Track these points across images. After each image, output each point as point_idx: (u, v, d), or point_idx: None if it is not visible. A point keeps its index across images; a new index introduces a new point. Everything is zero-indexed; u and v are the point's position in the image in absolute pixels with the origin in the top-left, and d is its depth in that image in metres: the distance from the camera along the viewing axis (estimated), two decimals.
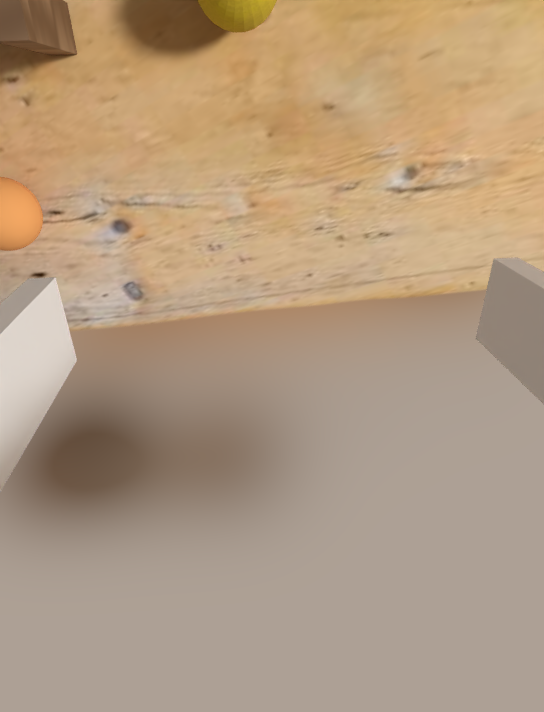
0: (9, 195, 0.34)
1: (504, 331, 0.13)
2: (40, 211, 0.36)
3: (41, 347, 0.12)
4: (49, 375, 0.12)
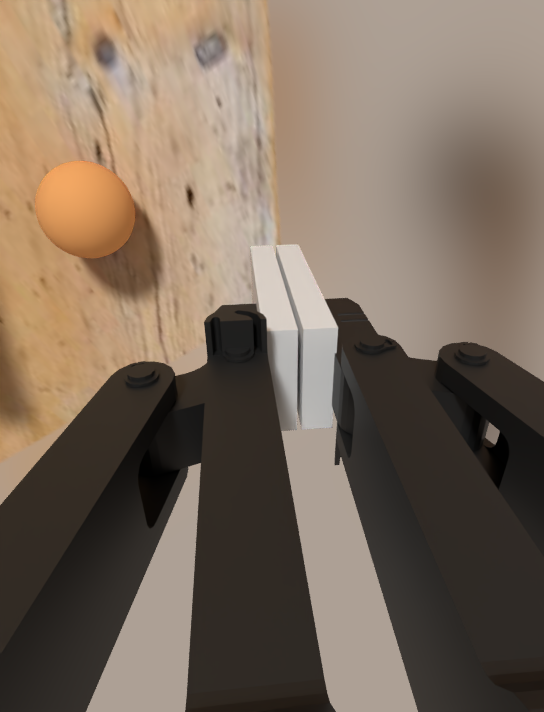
0: (43, 188, 0.25)
1: None
2: (77, 161, 0.26)
3: None
4: None
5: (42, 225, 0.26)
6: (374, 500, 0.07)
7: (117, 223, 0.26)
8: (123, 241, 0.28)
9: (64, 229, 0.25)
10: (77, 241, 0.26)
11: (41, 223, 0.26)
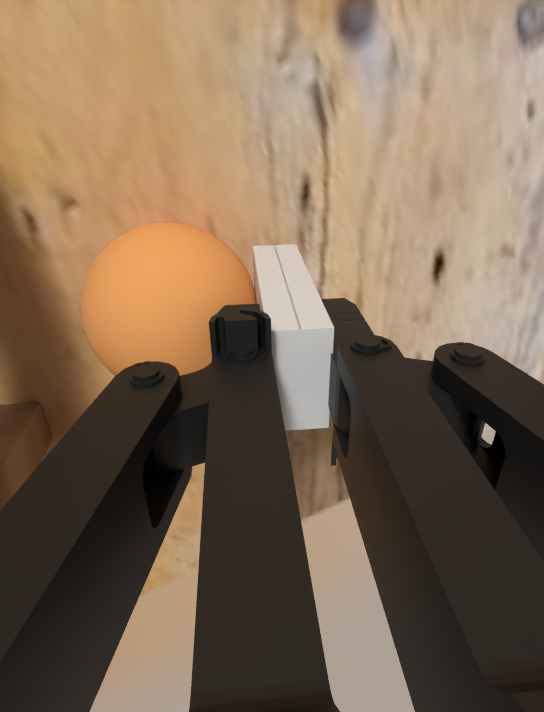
0: None
1: None
2: (170, 224, 0.14)
3: None
4: None
5: None
6: (371, 501, 0.07)
7: None
8: None
9: (88, 340, 0.14)
10: (104, 365, 0.14)
11: None
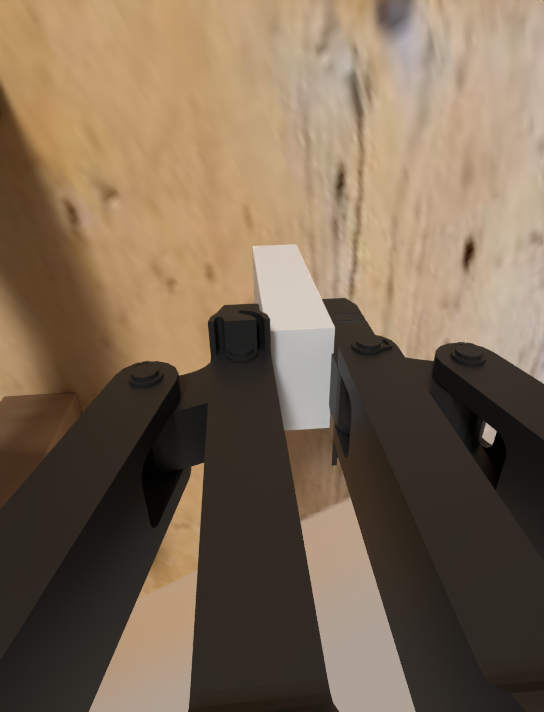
0: None
1: None
2: None
3: None
4: None
5: None
6: (371, 500, 0.07)
7: None
8: None
9: None
10: None
11: None
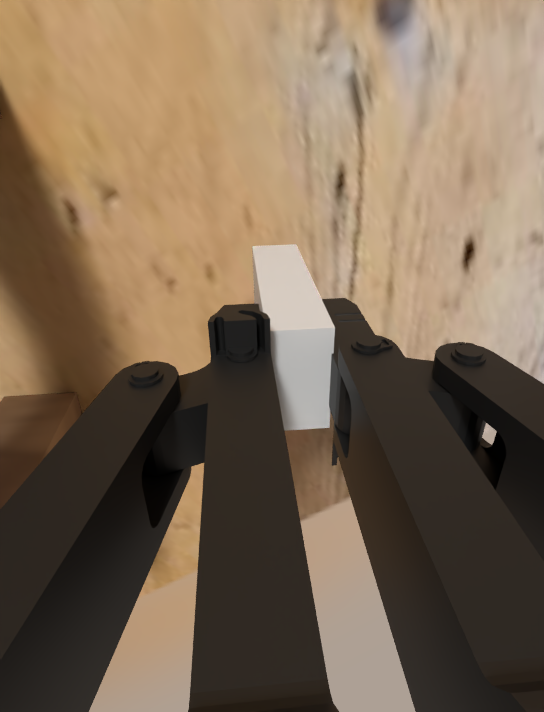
0: None
1: None
2: None
3: None
4: None
5: None
6: (371, 500, 0.07)
7: None
8: None
9: None
10: None
11: None
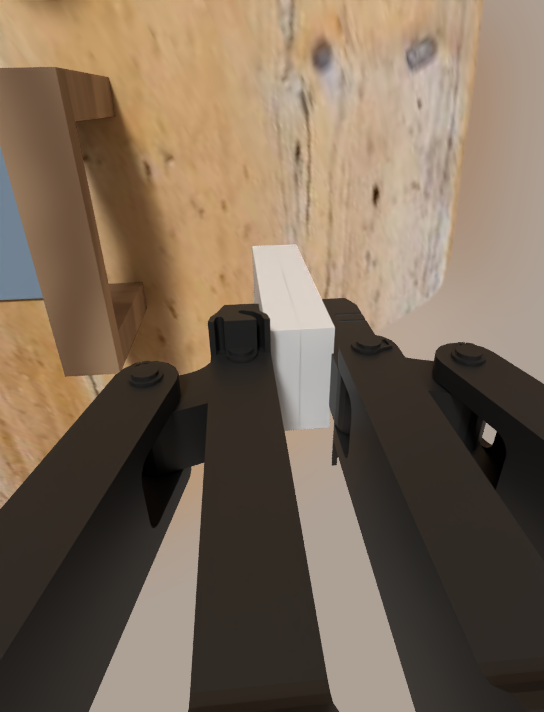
0: None
1: None
2: None
3: None
4: None
5: None
6: (371, 501, 0.07)
7: None
8: None
9: None
10: None
11: None
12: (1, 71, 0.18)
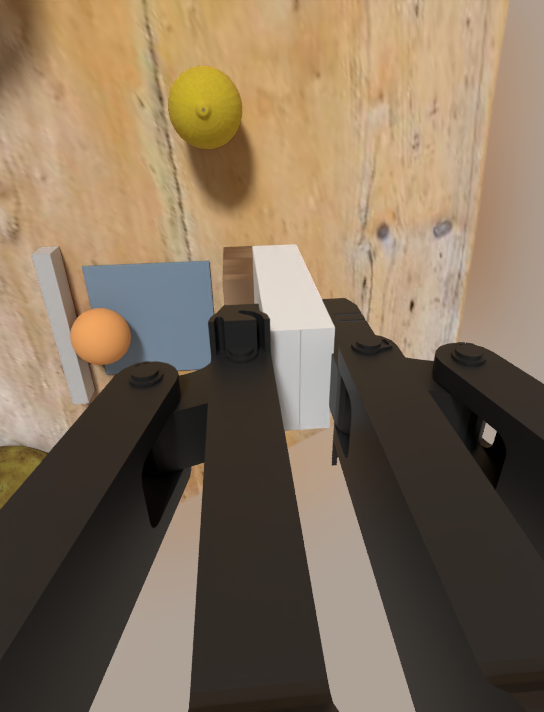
0: None
1: None
2: (96, 311, 0.43)
3: None
4: None
5: None
6: (371, 500, 0.07)
7: None
8: None
9: None
10: None
11: None
12: (233, 281, 0.36)
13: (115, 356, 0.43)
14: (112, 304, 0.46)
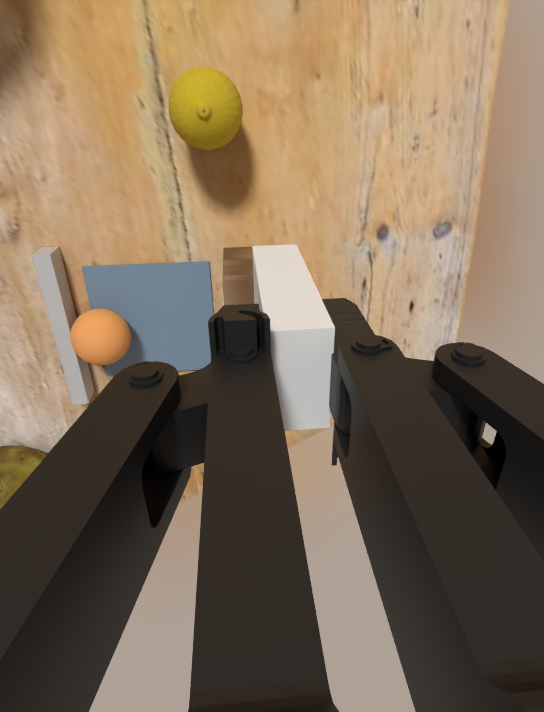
0: None
1: None
2: (96, 312, 0.43)
3: None
4: None
5: None
6: (371, 501, 0.07)
7: None
8: None
9: None
10: None
11: None
12: (233, 281, 0.36)
13: (115, 356, 0.43)
14: (112, 304, 0.46)
